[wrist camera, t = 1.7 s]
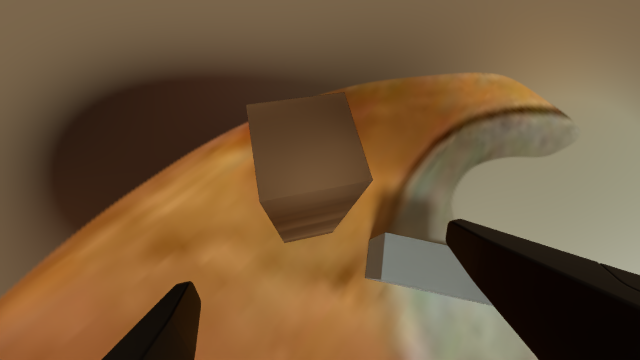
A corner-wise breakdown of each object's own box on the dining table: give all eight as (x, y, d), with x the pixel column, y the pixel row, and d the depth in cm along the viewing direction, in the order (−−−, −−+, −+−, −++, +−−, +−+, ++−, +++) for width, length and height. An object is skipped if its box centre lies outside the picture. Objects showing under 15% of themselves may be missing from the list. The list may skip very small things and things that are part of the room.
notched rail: (565, 321, 18) (632, 333, 14) (365, 278, 18) (381, 279, 15) (557, 280, 19) (618, 282, 16) (369, 239, 19) (385, 232, 16)
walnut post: (332, 232, 19) (372, 180, 8) (284, 242, 19) (259, 201, 8) (321, 188, 21) (344, 92, 10) (276, 196, 20) (246, 104, 9)
